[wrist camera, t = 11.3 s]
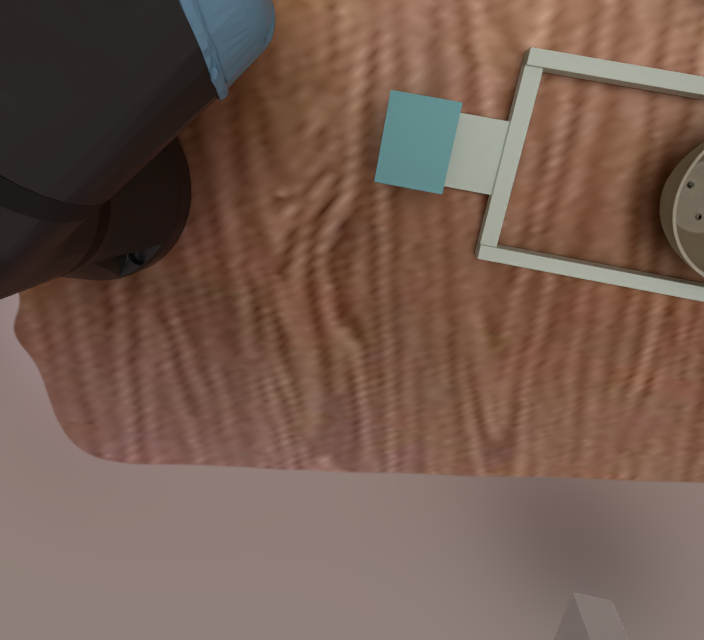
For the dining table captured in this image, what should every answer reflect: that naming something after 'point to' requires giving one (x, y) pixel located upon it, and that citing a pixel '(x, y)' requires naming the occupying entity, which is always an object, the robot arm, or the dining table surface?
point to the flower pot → (685, 209)
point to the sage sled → (511, 157)
